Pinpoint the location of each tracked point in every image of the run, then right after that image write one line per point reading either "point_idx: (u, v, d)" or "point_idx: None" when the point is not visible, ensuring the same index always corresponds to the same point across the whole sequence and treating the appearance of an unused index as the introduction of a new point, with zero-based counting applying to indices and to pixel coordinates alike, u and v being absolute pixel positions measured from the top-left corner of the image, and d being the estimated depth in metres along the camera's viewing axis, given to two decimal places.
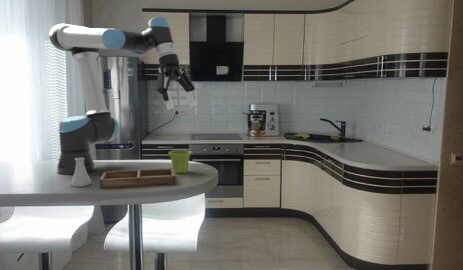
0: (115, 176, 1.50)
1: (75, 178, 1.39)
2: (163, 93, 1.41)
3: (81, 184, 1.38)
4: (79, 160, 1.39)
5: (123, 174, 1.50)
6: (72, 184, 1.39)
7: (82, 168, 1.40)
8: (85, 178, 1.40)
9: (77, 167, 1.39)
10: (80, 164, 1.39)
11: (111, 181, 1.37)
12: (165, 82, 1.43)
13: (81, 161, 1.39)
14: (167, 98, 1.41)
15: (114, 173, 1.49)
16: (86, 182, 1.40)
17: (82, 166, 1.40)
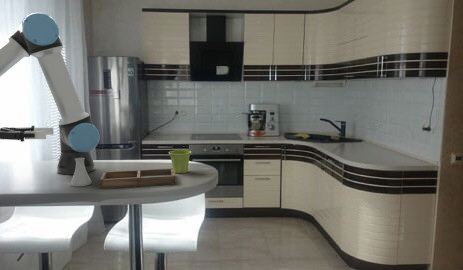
0: (115, 176, 1.50)
1: (75, 178, 1.39)
2: None
3: (81, 184, 1.38)
4: (79, 160, 1.39)
5: (123, 174, 1.50)
6: (72, 184, 1.39)
7: (82, 168, 1.40)
8: (85, 178, 1.40)
9: (77, 167, 1.39)
10: (80, 164, 1.39)
11: (111, 181, 1.37)
12: None
13: (81, 161, 1.39)
14: None
15: (114, 173, 1.49)
16: (86, 182, 1.40)
17: (82, 166, 1.40)
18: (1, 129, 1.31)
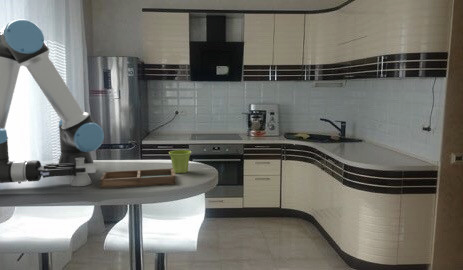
0: (115, 176, 1.50)
1: (75, 178, 1.39)
2: None
3: (81, 184, 1.38)
4: (79, 160, 1.39)
5: (123, 174, 1.50)
6: (72, 184, 1.39)
7: None
8: (85, 178, 1.40)
9: None
10: (80, 164, 1.39)
11: (111, 181, 1.37)
12: None
13: (81, 161, 1.39)
14: None
15: (114, 173, 1.49)
16: (86, 182, 1.40)
17: None
18: (46, 167, 1.36)
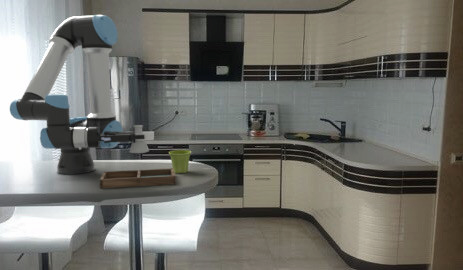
0: (115, 176, 1.50)
1: (134, 145, 1.39)
2: None
3: (140, 151, 1.38)
4: (138, 127, 1.39)
5: (123, 174, 1.50)
6: (131, 151, 1.39)
7: None
8: (144, 145, 1.40)
9: None
10: (139, 131, 1.39)
11: (111, 181, 1.37)
12: None
13: (140, 128, 1.39)
14: None
15: (114, 173, 1.49)
16: (144, 149, 1.39)
17: None
18: (106, 133, 1.37)
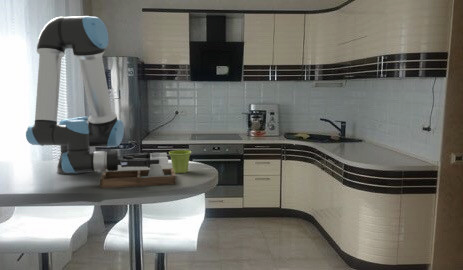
0: (115, 176, 1.50)
1: (152, 172, 1.44)
2: None
3: None
4: (155, 155, 1.45)
5: (123, 174, 1.50)
6: None
7: None
8: (161, 172, 1.46)
9: None
10: None
11: (111, 181, 1.37)
12: None
13: (157, 156, 1.45)
14: None
15: (114, 173, 1.49)
16: None
17: None
18: (124, 157, 1.42)
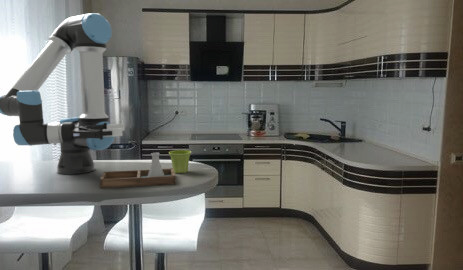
0: (115, 176, 1.50)
1: (152, 172, 1.44)
2: None
3: None
4: (155, 155, 1.45)
5: (123, 174, 1.50)
6: None
7: (158, 162, 1.46)
8: (161, 172, 1.46)
9: (153, 162, 1.45)
10: (156, 158, 1.45)
11: (111, 181, 1.37)
12: None
13: (157, 156, 1.45)
14: None
15: (114, 173, 1.49)
16: None
17: (158, 161, 1.46)
18: (79, 128, 1.36)
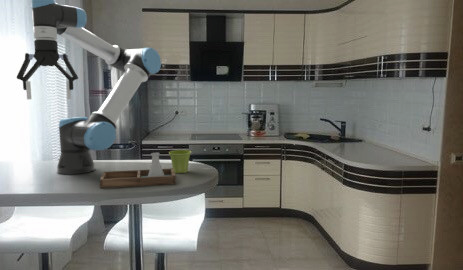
0: (115, 176, 1.50)
1: (152, 172, 1.44)
2: None
3: None
4: (155, 155, 1.45)
5: (123, 174, 1.50)
6: None
7: (158, 162, 1.46)
8: (161, 172, 1.46)
9: (153, 162, 1.45)
10: (156, 158, 1.45)
11: (111, 181, 1.37)
12: None
13: (157, 156, 1.45)
14: (25, 88, 1.36)
15: (114, 173, 1.49)
16: None
17: (158, 161, 1.46)
18: None
